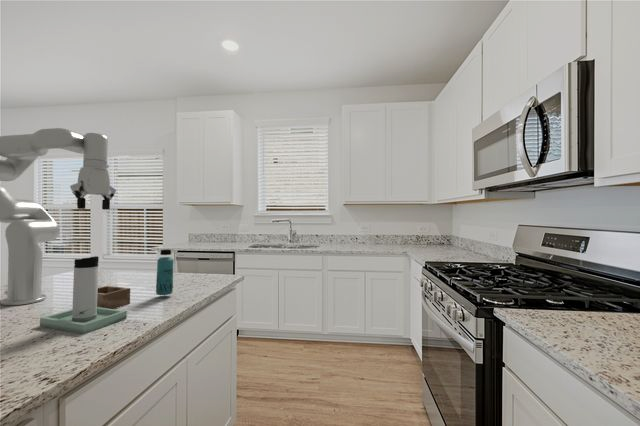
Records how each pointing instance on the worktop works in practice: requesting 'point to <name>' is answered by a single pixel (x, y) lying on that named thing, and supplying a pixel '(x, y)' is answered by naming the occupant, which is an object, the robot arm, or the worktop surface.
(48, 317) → the tray
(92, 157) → the robot arm
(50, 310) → the worktop surface
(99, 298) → the box
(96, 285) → the travel mug
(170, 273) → the beverage bottle
